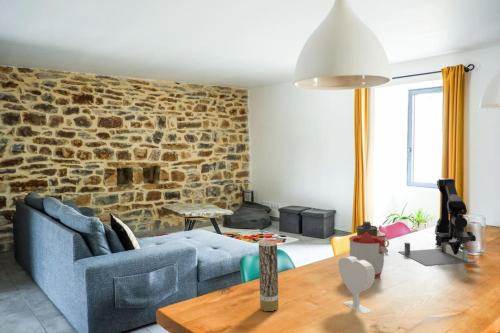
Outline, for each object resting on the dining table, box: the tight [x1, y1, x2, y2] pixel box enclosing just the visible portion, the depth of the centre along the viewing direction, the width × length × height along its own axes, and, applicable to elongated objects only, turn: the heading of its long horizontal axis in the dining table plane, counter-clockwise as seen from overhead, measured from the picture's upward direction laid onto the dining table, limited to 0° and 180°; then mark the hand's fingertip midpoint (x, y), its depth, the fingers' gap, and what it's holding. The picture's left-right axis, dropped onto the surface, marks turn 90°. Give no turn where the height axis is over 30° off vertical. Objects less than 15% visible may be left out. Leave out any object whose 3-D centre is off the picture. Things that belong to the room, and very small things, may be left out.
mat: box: [398, 248, 477, 267], centre depth 211 cm, size 27×26×1 cm
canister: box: [356, 221, 378, 236], centre depth 208 cm, size 11×10×20 cm
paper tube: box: [258, 239, 279, 312], centre depth 149 cm, size 7×7×25 cm
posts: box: [404, 241, 466, 255], centre depth 211 cm, size 26×14×6 cm, turn 99°
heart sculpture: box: [337, 255, 376, 314], centre depth 149 cm, size 16×5×18 cm, turn 28°
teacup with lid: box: [377, 228, 390, 248], centre depth 226 cm, size 12×9×12 cm
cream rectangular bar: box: [444, 242, 469, 261], centre depth 209 cm, size 18×2×5 cm, turn 6°
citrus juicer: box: [348, 232, 389, 279], centre depth 183 cm, size 16×17×20 cm
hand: (455, 254), depth 205 cm, fingers closed
